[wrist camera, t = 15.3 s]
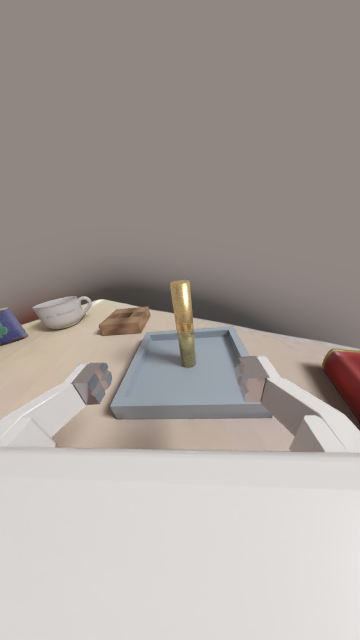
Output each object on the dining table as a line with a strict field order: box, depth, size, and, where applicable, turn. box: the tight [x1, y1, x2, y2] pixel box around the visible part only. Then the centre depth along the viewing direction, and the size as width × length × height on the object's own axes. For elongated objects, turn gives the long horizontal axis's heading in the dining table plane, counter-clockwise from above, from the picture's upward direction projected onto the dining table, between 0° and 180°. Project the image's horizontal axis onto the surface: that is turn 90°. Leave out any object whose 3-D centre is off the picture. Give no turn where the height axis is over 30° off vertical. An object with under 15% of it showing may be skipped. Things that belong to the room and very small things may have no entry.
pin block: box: [99, 307, 150, 336], centre depth 40 cm, size 10×10×3 cm
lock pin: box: [170, 280, 196, 368], centre depth 21 cm, size 2×2×13 cm
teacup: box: [33, 296, 92, 329], centre depth 44 cm, size 14×11×8 cm
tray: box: [110, 326, 272, 419], centre depth 23 cm, size 18×16×2 cm
